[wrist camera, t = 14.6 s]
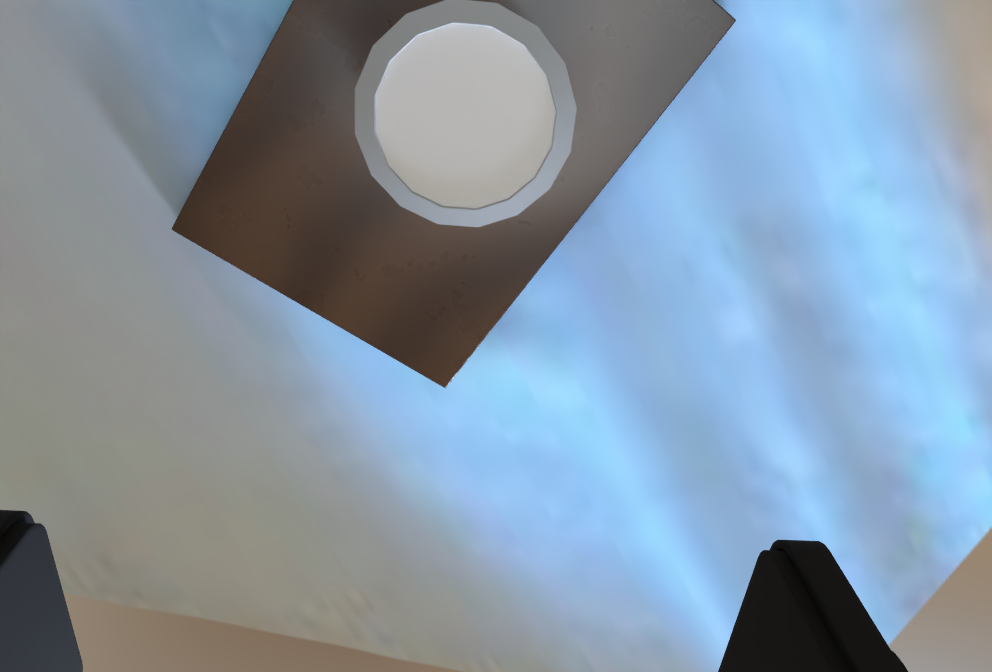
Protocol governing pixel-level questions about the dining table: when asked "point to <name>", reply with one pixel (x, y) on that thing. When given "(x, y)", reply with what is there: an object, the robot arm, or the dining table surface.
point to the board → (369, 207)
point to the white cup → (464, 113)
